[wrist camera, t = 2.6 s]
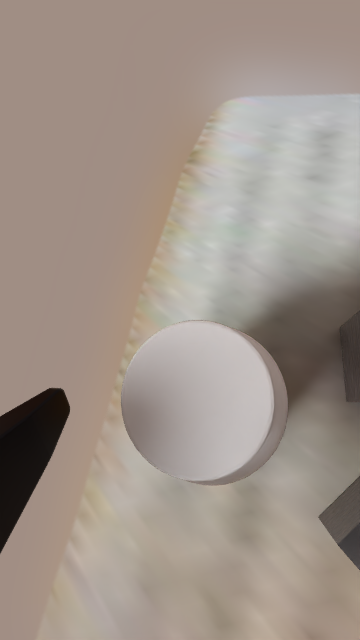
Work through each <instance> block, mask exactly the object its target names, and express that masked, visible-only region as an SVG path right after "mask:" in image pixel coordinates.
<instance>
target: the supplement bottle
mask: <svg viewBox="0 0 360 640" xmlns="http://www.w3.org/2000/svg"><path fill="white" fill-rule="evenodd" d="M121 407H122V416H123V421H124V424H125V427H126V430H127V432H128V435H129V437H130V439H131V440H132V442H133V444H134V446H135V447H136V448H137V450H138V451H139V452H140V454H141V455H142V456H143V457H144V458H145V459H146V460H147V461H148V462H149V463H151V464H152V465H153V466H154V467H156V468H157V469H159V470H160V471H162V472H164V473H166V474H168V475H170V476H173V477H176V478H179V479H184V480H186V481H189V482H192V483H196V484H202V485H224V484H229V483H233V482H236V481H239V480H241V479H243V478H246V477H248V476H249V475H251V474H252V473H254V472H255V471H257V470H258V469H259V468H260V467H261V466H262V465H264V464H265V463H266V462H267V461H268V460H269V458H270V457H271V456H272V455H273V453H274V452H275V450H276V449H277V447H278V445H279V443H280V441H281V439H282V436H283V433H284V430H285V427H286V422H287V416H288V397H287V391H286V386H285V382H284V379H283V376H282V374H281V372H280V370H279V368H278V365H277V364H276V362H275V361H274V359H273V358H272V356H271V355H270V354H269V353H268V351H267V350H266V349H265V348H264V347H263V346H262V345H261V344H260V343H258V342H257V341H256V340H255V339H253V338H252V337H250V336H249V335H247V334H245V333H243V332H241V331H239V330H236V329H233V328H230V327H227V326H225V325H223V324H219V323H216V322H212V321H203V320H191V321H184V322H179V323H176V324H173V325H170V326H168V327H166V328H163V329H162V330H160V331H158V332H157V333H155V334H154V335H152V336H151V337H150V338H149V339H148V340H147V341H146V342H145V343H144V344H143V345H142V346H141V347H140V348H139V349H138V351H137V352H136V353H135V355H134V357H133V358H132V360H131V362H130V364H129V366H128V368H127V371H126V373H125V377H124V380H123V385H122V392H121Z"/></svg>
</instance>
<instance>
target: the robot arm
mask: <svg viewBox="0 0 360 640" xmlns="http://www.w3.org/2000/svg"><path fill="white" fill-rule="evenodd" d="M69 413H70V406H69V403H68V400H67V397H66V395H65V392H64V390H63V389H61V388H49V389H47V390H46V391H44V392H42V393H40V394H38V395H37V396H35V397H33V398H31V399H30V400H28V401H26V402H24V403H23V404H21V405H19V406H17V407H16V408H14V409H12V410H11V411H9V412H7V413H5V414H4V415H2V416H0V553H1V551H2V549H3V547H4V546H5V544H6V542H7V540H8V538H9V536H10V534H11V532H12V531H13V529H14V527H15V525H16V523H17V521H18V519H19V517H20V515H21V514H22V512H23V510H24V508H25V506H26V504H27V502H28V500H29V498H30V497H31V495H32V493H33V491H34V489H35V487H36V485H37V483H38V481H39V479H40V478H41V476H42V474H43V472H44V470H45V468H46V466H47V464H48V462H49V460H50V458H51V456H52V454H53V452H54V450H55V447H56V445H57V442H58V440H59V437H60V435H61V433H62V430H63V428H64V425H65V423H66V420H67V418H68V416H69Z"/></svg>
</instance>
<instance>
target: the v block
mask: <svg viewBox="0 0 360 640" xmlns="http://www.w3.org/2000/svg"><path fill="white" fill-rule="evenodd" d="M340 335H341V346H342V357H343V368H344V378H345V389H346V400H347V402H360V311H359V312H358V313H356V314H355V315H354V316H353V317H352V318H351V319H349V320H348V321H347V322H346V323H345V324H344V325H342V326H341V327H340ZM318 518H319V519H320V520H321V522H322V523H323V525H324V526H325V528H326V529H327V530H328V532H329V533H330V535H331V536H332V537H333V539H334V540H335V542H336V543H337V545H338V546H339V547H340V548H341V549H342V550H343V551H344V553H345V554H346V555H347V556H348V557H349V558H350V560H351V561H352V562H353V563H354V564H355V565H356V566H357V568H358V569H359V570H360V477H359V478H358V479H357V480H356V481H355V482H354V483H353V484H352V485H351V486H350V487H349V488H348V489H347V490H346V491H345V492H344V493H343V494H342V495H341V496H340V497H339V498H337V499H336V500H335V501H334V502H333V503H332V504H331V505H330V506H329V507H328V508H327V509H326V510H325V511H324V512H323V513H322V514H321V515H320V516H319V517H318Z"/></svg>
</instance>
